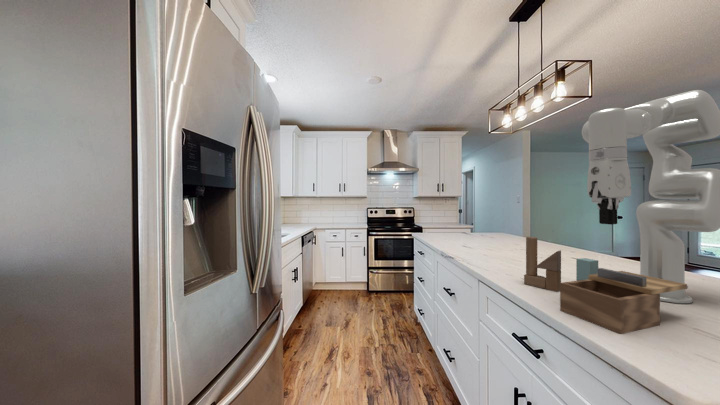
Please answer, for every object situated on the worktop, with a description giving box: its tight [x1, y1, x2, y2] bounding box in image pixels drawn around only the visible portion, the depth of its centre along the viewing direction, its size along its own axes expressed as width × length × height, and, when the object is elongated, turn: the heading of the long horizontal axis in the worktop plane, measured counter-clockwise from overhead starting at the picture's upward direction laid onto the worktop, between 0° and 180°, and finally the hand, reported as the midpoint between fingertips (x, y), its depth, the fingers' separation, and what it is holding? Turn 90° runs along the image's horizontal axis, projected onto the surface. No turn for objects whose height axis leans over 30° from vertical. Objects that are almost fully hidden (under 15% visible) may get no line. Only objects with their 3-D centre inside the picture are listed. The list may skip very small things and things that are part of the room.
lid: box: [588, 267, 688, 295], centre depth 74 cm, size 15×14×4 cm
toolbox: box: [559, 279, 661, 335], centre depth 71 cm, size 15×14×8 cm
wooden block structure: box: [523, 236, 562, 293], centre depth 96 cm, size 4×11×18 cm, turn 35°
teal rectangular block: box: [575, 257, 599, 281], centre depth 87 cm, size 4×4×12 cm
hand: (608, 223), depth 71 cm, fingers closed
